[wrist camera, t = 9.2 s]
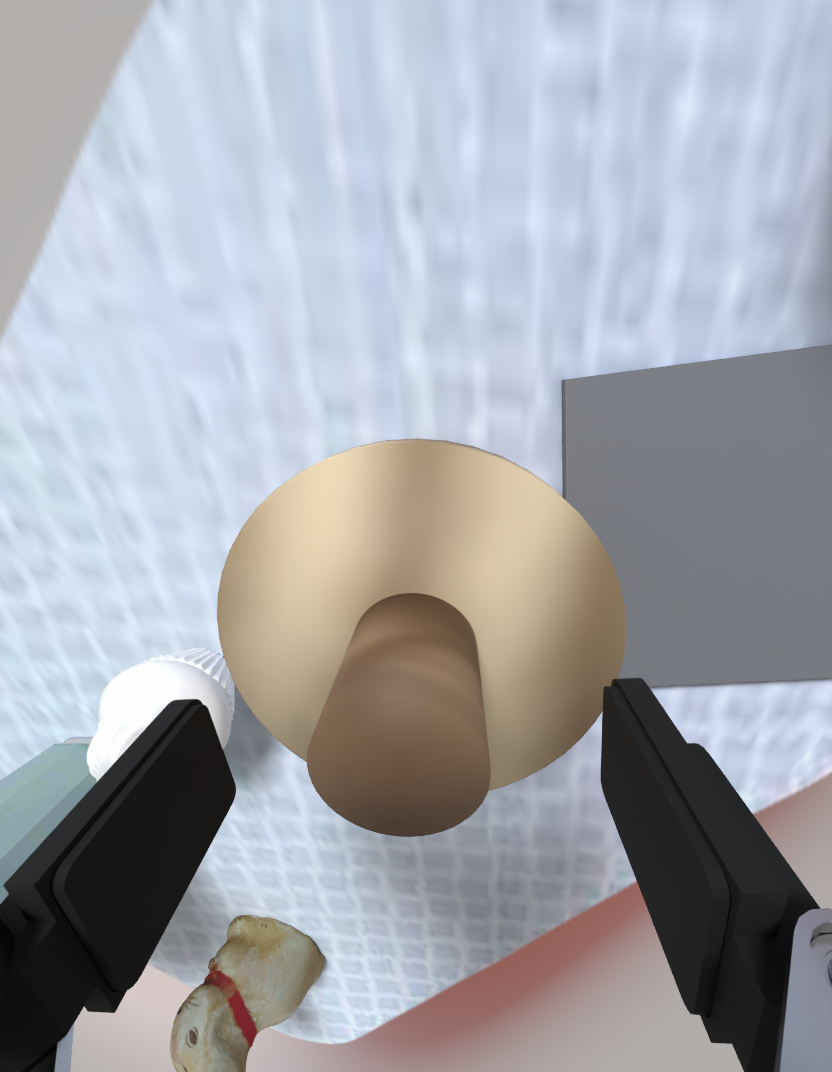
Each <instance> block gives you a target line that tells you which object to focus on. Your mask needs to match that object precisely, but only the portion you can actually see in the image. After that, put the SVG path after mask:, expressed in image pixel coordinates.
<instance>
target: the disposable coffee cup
mask: <svg viewBox="0 0 832 1072" xmlns="http://www.w3.org/2000/svg"><path fill="white" fill-rule="evenodd" d="M92 739H93V738H69V739H67V740H66V741H64V742H63V743H61V744H54V745H53V746H51V747H50V748H48V749H47V750H45V751H44V752H42V753H41V754H39V755H38V756H36V757H35V758H33V759H32V760H30V761H29V762H27V763H26V764H24V765H23V766H21V767H20V768H18V769H17V770H15V771H14V772H13V773H11V774H10V775H8V776H7V777H5V778H4V779H2V780H1V781H0V904H1V903H2V902H3V900H4V899H5V898H6V897H7V896H8V895H9V894H8V892H7V891H6V889H5V888H4V886H3V885H4V884H5V882H6V881H7V880H8V879H9V878H10V877H11V876H12V875H13V874H14V873H15V871H16V870H17V869H18V868H19V867H20V866H21V865H22V864H23V863H24V862H25V860H26V859H27V858H28V857H29V856H30V855H31V854H32V853H33V852H34V851H35V850H36V848H37V847H38V846H39V845H40V844H41V843H42V842H43V841H44V840H45V839H46V837H47V836H48V835H49V834H50V833H51V832H52V831H53V830H54V829H55V828H56V826H57V825H58V824H59V823H60V822H61V821H62V820H63V819H64V818H65V817H66V815H67V814H68V813H69V812H70V811H71V810H72V809H73V808H74V807H75V806H76V805H77V803H78V802H79V801H80V800H81V799H82V798H83V797H84V796H85V795H86V794H87V792H88V791H89V790H90V789H91V788H92V787H93V786H94V785H95V784H96V783H97V781H96V778H95V777H93V776H92V775H91V773H90V771H89V766H88V764H87V751H88V748H89V746H90V743H91V741H92Z"/></svg>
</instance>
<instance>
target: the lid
mask: <svg viewBox="0 0 832 1072" xmlns="http://www.w3.org/2000/svg"><path fill="white" fill-rule="evenodd" d="M217 621H218V630H219V639H220V643H221V647H222V651H223V655H224V659H225V662H226V665H227V667H228V670H229V672H230V675H231V677H232V680H233V682H234V684H235V686H236V687H237V689H238V691H239V693H240V695H241V696H242V698H243V700H244V702H245V703H246V704H247V706H248V707H249V708H250V710H251V711H252V713H253V714H254V715H255V717H256V718H257V719H258V720H259V721H260V723H261V724H262V725H263V726H264V727H265V728H266V729H267V730H268V731H269V732H270V733H271V734H272V735H273V736H274V737H275V738H276V739H277V740H278V741H279V742H281V743H282V744H283V745H284V746H285V747H286V748H288V749H289V750H290V751H291V752H293V753H294V754H296V755H297V756H299V757H300V758H301V759H303V760H304V761H306V762H307V767H308V772H309V776H310V778H311V781H312V784H313V785H314V787H315V789H316V791H317V792H318V794H319V795H320V797H321V798H322V799H323V800H324V802H325V803H326V804H327V805H328V806H329V807H330V808H331V809H333V810H334V811H335V812H336V813H337V814H339V815H340V816H342V817H343V818H345V819H346V820H348V821H350V822H352V823H354V824H355V825H358V826H360V827H362V828H365V829H367V830H371V831H374V832H377V833H381V834H386V835H393V836H406V837H412V836H424V835H430V834H435V833H438V832H442V831H445V830H447V829H450V828H452V827H454V826H456V825H458V824H460V823H461V822H463V821H464V820H466V819H467V818H469V817H470V816H471V815H472V814H473V813H474V812H475V811H476V810H477V809H478V807H479V806H480V805H481V804H482V802H483V800H484V798H485V797H486V795H487V792H488V791H489V790H492V789H496V788H499V787H503V786H506V785H508V784H511V783H513V782H516V781H518V780H521V779H523V778H526V777H528V776H529V775H531V774H533V773H535V772H537V771H539V770H541V769H542V768H544V767H546V766H547V765H549V764H550V763H552V762H553V761H555V760H556V759H557V758H559V757H560V756H562V755H563V754H564V753H565V752H567V751H568V750H569V749H570V748H571V747H572V746H573V745H574V744H575V743H577V742H578V741H579V740H580V739H581V738H582V737H583V736H584V734H585V733H586V732H587V731H588V730H589V728H590V727H591V726H592V725H593V724H594V723H595V721H596V720H597V718H598V717H599V715H600V714H601V712H602V710H603V690H604V687H605V686H611V683H612V680H613V679H618V677H619V673H620V670H621V666H622V662H623V659H624V651H625V643H626V612H625V605H624V600H623V596H622V591H621V586H620V583H619V580H618V577H617V575H616V572H615V569H614V567H613V564H612V561H611V559H610V557H609V556H608V554H607V552H606V550H605V549H604V547H603V545H602V543H601V542H600V540H599V538H598V536H597V535H596V534H595V532H594V531H593V530H592V529H591V527H590V526H589V525H588V524H587V522H586V521H585V520H584V518H583V517H582V516H581V515H580V513H578V512H577V511H576V510H575V509H574V508H573V507H572V506H571V505H570V504H569V503H568V502H567V501H566V500H565V499H564V498H563V497H562V496H561V495H559V494H558V493H557V492H556V491H555V490H554V489H553V488H552V487H551V486H549V485H548V484H547V483H545V482H544V481H542V480H541V479H539V478H538V477H537V476H535V475H534V474H532V473H531V472H530V471H528V470H527V469H525V468H523V467H521V466H519V465H517V464H515V463H513V462H511V461H509V460H507V459H505V458H503V457H502V456H499V455H496V454H493V453H490V452H487V451H485V450H482V449H479V448H476V447H473V446H468V445H463V444H459V443H454V442H449V441H442V440H429V439H402V440H387V441H382V442H377V443H372V444H367V445H362V446H358V447H355V448H352V449H350V450H347V451H344V452H341V453H338V454H335V455H333V456H331V457H329V458H327V459H325V460H323V461H321V462H319V463H317V464H315V465H313V466H311V467H310V468H308V469H306V470H304V471H302V472H300V473H298V474H297V475H295V476H294V477H293V478H291V479H290V480H288V481H287V482H286V483H284V484H283V485H281V486H280V487H279V488H277V489H276V490H275V491H274V492H273V493H272V494H271V495H270V496H269V497H268V498H267V499H266V500H265V501H264V502H262V503H261V504H260V505H259V506H258V507H257V509H256V510H255V511H254V512H253V514H252V515H251V516H250V518H249V519H248V520H247V522H246V523H245V524H244V526H243V527H242V528H241V530H240V532H239V534H238V536H237V538H236V540H235V542H234V543H233V545H232V547H231V549H230V551H229V554H228V557H227V560H226V563H225V566H224V568H223V571H222V576H221V581H220V587H219V592H218V607H217Z"/></svg>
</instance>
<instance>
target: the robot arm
mask: <svg viewBox="0 0 832 1072" xmlns="http://www.w3.org/2000/svg"><path fill="white" fill-rule="evenodd" d="M601 784H602V789H603V793H604V796H605V799H606V802H607V804H608V807H609V809H610V812H611V815H612V817H613V820H614V822H615V825H616V828H617V830H618V833H619V835H620V838H621V841H622V843H623V846H624V848H625V851H626V854H627V856H628V859H629V862H630V864H631V867H632V869H633V872H634V875H635V877H636V880H637V882H638V885H639V888H640V890H641V893H642V895H643V898H644V901H645V903H646V906H647V908H648V911H649V913H650V916H651V919H652V921H653V924H654V927H655V929H656V932H657V934H658V937H659V940H660V942H661V945H662V947H663V950H664V953H665V955H666V958H667V961H668V963H669V966H670V968H671V971H672V974H673V976H674V979H675V981H676V984H677V986H678V989H679V992H680V994H681V997H682V999H683V1001H684V1004H685V1006H686V1007H687V1009H688V1011H689V1012H690V1013H691V1014H696V1015H700V1016H701V1018H702V1021H703V1024H704V1026H705V1029H706V1031H707V1033H708V1036H709V1038H710V1041H711V1043H728V1044H729V1043H730V1044H733V1047H734V1049H735V1051H736V1054H737V1056H738V1058H739V1061H740V1063H741V1065H742V1068H743V1070H744V1072H832V909H829V908H825V909H820V907H819V906H818V904H817V903H816V902H815V900H814V899H813V897H812V896H811V895H810V893H809V892H808V891H807V889H806V888H805V886H804V885H803V884H802V882H801V881H800V879H799V878H798V877H797V875H796V874H795V872H794V871H793V870H792V868H791V867H790V866H789V864H788V863H787V861H786V860H785V859H784V857H783V856H782V854H781V853H780V852H779V850H778V849H777V847H776V846H775V845H774V843H773V842H772V841H771V839H770V838H769V837H768V835H767V834H766V832H765V831H764V829H763V828H762V827H761V825H760V824H759V823H758V821H757V820H756V818H755V817H754V815H753V814H752V813H751V811H750V810H749V809H748V807H747V806H746V804H745V803H744V802H743V800H742V799H741V797H740V796H739V795H738V793H737V792H736V790H735V789H734V788H733V786H732V785H731V784H730V782H729V781H728V779H727V778H726V777H725V775H724V774H723V772H722V771H721V770H720V768H719V767H718V765H717V764H716V763H715V761H714V760H713V759H712V757H711V756H710V754H709V753H708V752H707V751H706V750H705V749H704V747H702V746H701V745H699V744H696V743H688V744H687V743H686V741H685V740H684V738H683V737H682V735H681V734H680V732H679V731H678V729H677V728H676V726H675V725H674V723H673V722H672V720H671V719H670V717H669V716H668V715H667V713H666V712H665V710H664V709H663V707H662V706H661V704H660V703H659V701H658V700H657V698H656V697H655V695H654V694H653V692H652V691H651V689H650V688H649V687H648V685H647V684H646V682H645V681H644V680H643V679H642V678H622V679H613V680H612V683H611V686H605V687H604V690H603V717H602V751H601ZM235 793H236V786H235V782H234V779H233V777H232V774H231V771H230V768H229V765H228V763H227V760H226V757H225V754H224V751H223V749H222V746H221V743H220V740H219V737H218V735H217V732H216V729H215V726H214V723H213V721H212V718H211V715H210V712H209V709H208V708H207V706H206V705H203V703H202V702H201V701H200V700H199V699H182V700H173V701H171V702H170V703H169V704H168V705H167V706H166V707H165V708H164V709H163V710H162V711H161V712H160V713H159V714H158V716H157V717H156V718H155V719H154V720H153V721H152V722H151V723H150V724H149V725H148V727H147V728H146V729H145V730H144V731H143V732H142V733H141V734H140V735H139V736H138V738H137V739H136V740H135V741H134V742H133V743H132V744H131V745H130V746H129V747H128V749H127V750H126V751H125V752H124V753H123V754H122V755H121V756H120V757H119V758H118V759H117V761H116V762H115V763H114V764H113V765H112V766H111V767H110V768H109V769H108V770H107V772H106V773H105V774H104V775H103V776H102V777H101V778H100V779H99V780H98V781H97V783H96V784H95V785H94V786H93V787H92V788H91V789H90V790H89V791H88V792H87V794H86V795H85V796H84V797H83V798H82V799H81V800H80V801H79V802H78V803H77V805H76V806H75V807H74V808H73V809H72V810H71V811H70V812H69V813H68V814H67V815H66V817H65V818H64V819H63V820H62V821H61V822H60V823H59V824H58V825H57V826H56V828H55V829H54V830H53V831H52V832H51V833H50V834H49V835H48V836H47V837H46V839H45V840H44V841H43V842H42V843H41V844H40V845H39V846H38V847H37V848H36V850H35V851H34V852H33V853H32V854H31V855H30V856H29V857H28V858H27V859H26V860H25V862H24V863H23V864H22V865H21V866H20V867H19V868H18V869H17V870H16V871H15V873H14V874H13V875H12V876H11V877H10V878H9V879H8V880H7V881H6V882H5V884H4V885H3V886H4V888H5V889H6V891H7V892H8V894H9V895H8V896H7V897H6V898H5V899H4V900H3V902H2V903H1V904H0V1072H70V1067H71V1055H72V1042H73V1029H74V1022H75V1020H76V1019H77V1017H78V1015H79V1014H80V1012H81V1010H82V1009H83V1007H84V1006H85V1008H86V1009H87V1011H90V1012H109V1013H114V1012H115V1011H116V1009H117V1008H118V1006H119V1004H120V1002H121V1000H122V998H123V997H124V995H125V993H126V991H127V990H129V989H130V988H131V987H133V986H134V984H135V983H136V982H137V981H138V979H139V978H140V976H141V974H142V972H143V970H144V969H145V967H146V965H147V963H148V961H149V959H150V957H151V955H152V954H153V952H154V950H155V948H156V946H157V944H158V942H159V940H160V939H161V937H162V935H163V933H164V931H165V929H166V927H167V925H168V924H169V922H170V920H171V918H172V916H173V914H174V912H175V910H176V908H177V907H178V905H179V903H180V901H181V899H182V897H183V895H184V893H185V892H186V890H187V888H188V886H189V884H190V882H191V880H192V878H193V877H194V875H195V873H196V871H197V869H198V867H199V865H200V863H201V862H202V860H203V858H204V856H205V854H206V852H207V850H208V848H209V846H210V845H211V843H212V841H213V839H214V837H215V835H216V833H217V831H218V830H219V828H220V826H221V824H222V822H223V820H224V818H225V816H226V815H227V813H228V811H229V809H230V807H231V805H232V803H233V801H234V798H235Z"/></svg>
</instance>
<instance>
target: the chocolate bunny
mask: <svg viewBox="0 0 832 1072" xmlns="http://www.w3.org/2000/svg"><path fill="white" fill-rule="evenodd" d="M324 961H325V958H324V956H323V955H322V954H321V953H320V952H319V951H318V948H317V946H316V945H315V944H314V942H313V941H312V940H311V938H310V937H308V936H306V935H304V934H302V933H301V932H300V931H299V930H296V929H295V928H294V927H292V926H289V925H286V924H285V923H282V922H280V921H277V920H275V919H272V918H265V917H258V916H253V915H243V916H238V917H237V918H235V919H234V920H233V921H232V923H231V924H230V926H229V928H228V932H227V941H226V943H225V944H224V945H223V946H222V947H221V948H220V950H219V951H218V953H217V954H216V956H215V958H212V959H211V960H210V962H209V966H208V968H209V969H210V971H209V975H208V976H207V977H206V978H205V981H204V983H203V984H201V985H200V986H199V987H197V988H196V989H195V990H194V991H193V992H192V993H191V994H190V995H189V996H188V998H187V999H186V1000H185V1002H184V1003H183V1004H182V1006H181V1007H180V1009H179V1011H178V1013H177V1016H176V1018H175V1020H174V1024H173V1029H172V1034H171V1042H170V1052H171V1058H172V1061H173V1064H174V1067H175V1069H176V1071H177V1072H245V1070H246V1060H247V1055H248V1052H249V1049H250V1047H251V1046H252V1044H253V1042H254V1039H255V1036H256V1035H257V1033H258V1032H260V1031H261V1030H262V1029H264V1028H266V1027H270V1026H274V1025H277V1024H279V1023H281V1022H283V1021H284V1020H286V1019H288V1018H289V1016H290V1015H291V1014H292V1013H293V1012H294V1011H295V1010H296V1009H297V1008H298V1006H299V1005H300V1003H301V1002H302V1000H303V999H304V997H305V995H306V993H307V992H308V990H309V988H310V987H311V986H312V985H313V984H314V983H315V982H316V981H317V979H318V978H319V976H320V974H321V972H322V969H323V963H324Z"/></svg>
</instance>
